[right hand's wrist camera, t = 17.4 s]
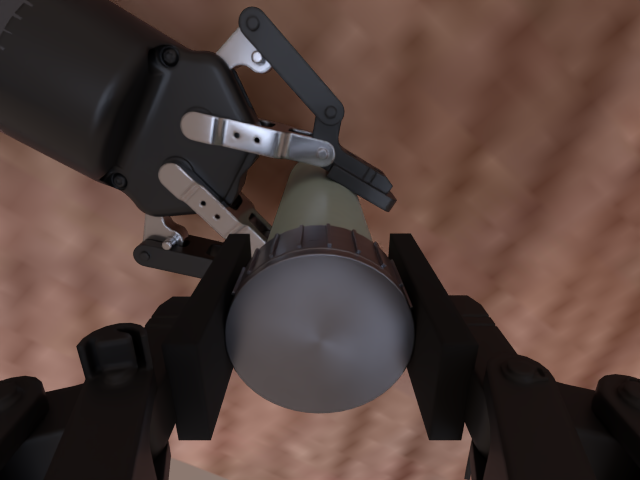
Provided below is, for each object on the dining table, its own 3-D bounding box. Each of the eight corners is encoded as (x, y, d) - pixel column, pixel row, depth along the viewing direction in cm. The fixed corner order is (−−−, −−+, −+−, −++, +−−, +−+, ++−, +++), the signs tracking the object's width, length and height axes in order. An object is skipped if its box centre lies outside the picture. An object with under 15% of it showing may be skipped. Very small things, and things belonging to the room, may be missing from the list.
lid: (203, 270, 12) (180, 307, 10) (356, 190, 11) (364, 213, 9) (290, 387, 14) (285, 439, 12) (428, 326, 13) (448, 371, 11)
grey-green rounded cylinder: (323, 229, 27) (327, 406, 12) (274, 189, 26) (213, 331, 11) (365, 183, 26) (427, 317, 11) (316, 140, 25) (311, 223, 10)
